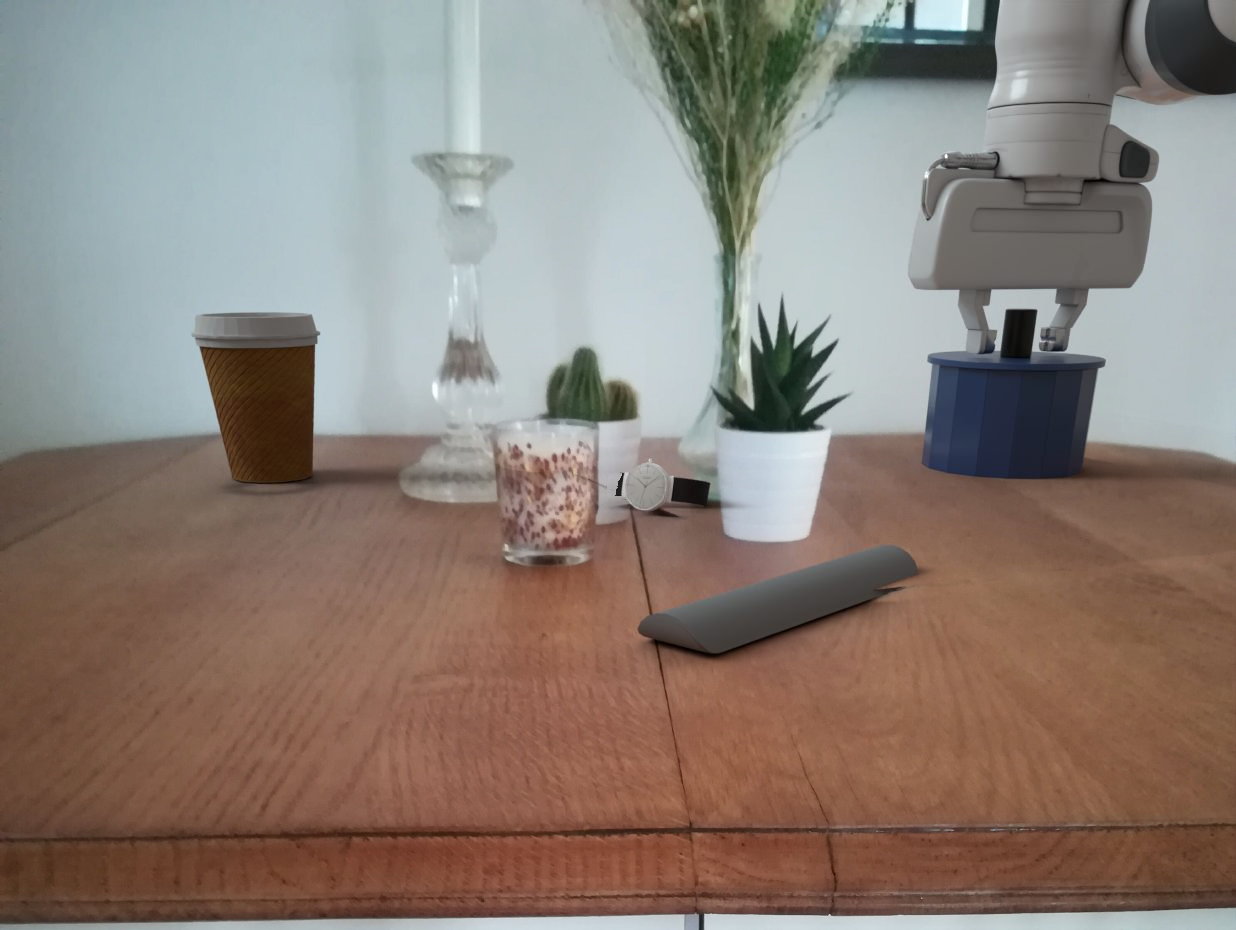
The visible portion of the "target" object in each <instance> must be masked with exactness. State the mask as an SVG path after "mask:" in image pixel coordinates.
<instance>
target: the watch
mask: <svg viewBox="0 0 1236 930" xmlns="http://www.w3.org/2000/svg"><path fill="white" fill-rule="evenodd" d="M621 473H622V476H621V478H620V480H619V481H618V486H617V487H618V488H617V489H616V495H615V496H622V498H627V500H626V501H628V503H629V504H630V505H631V506H632V507H633V508H634V509H636V510H638V511H639V512H640V511H641V512H647V513H648V512H654V511H656V510H658V509H660V507H662V506H663V505H664V504H665V503H668V504H671V502H675V503H684V504H693V505H698V506H704V507H707V505H708V501H709V495H710V494H709V493H710V489H711V482H710V481H706V480H700V479H694V478H685V477H675V476H674V475H669V474H668V473H667V471H666V470H665V469H664V468H663V467H662V466H661V465H659V464H657V463H654V458H648V462H647V461H646V462H644V463H640V464H637V465H635V466H634V467H633V468H631V470H630V471H628V472H627V471H624V472H621Z"/></svg>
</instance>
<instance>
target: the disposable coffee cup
mask: <svg viewBox="0 0 1236 930" xmlns="http://www.w3.org/2000/svg"><path fill="white" fill-rule="evenodd" d="M190 334H191V337H192V338H194V340H195V344H196V346H197V347H198V348H199V351H200V354H201V355H200V356H201V358H202V359H201V360H202V363H203V366H204V370H205V374H206V379H207V383H208V386H209V391H210V394H211V399H212V402H213V403H212V404H213V406H214V410H215V414H216V415H215V416H216V418H217V424H218V426H219V431H220V434H221V438H222V442H223V447H224V450H225V454H226V458H227V463H228V467H229V470H230V475H231V478H232V479H233V480H235V481H239V482H245V483H260V484H267V483H268V484H269V483H270V484H271V483H286V482H295V481H299V480H305V479H308V478H310V477H312V476H314V475H313V474H314V472H313V471H314V469H313V468H314V430H315V429H314V427H315V382H316V381H315V379H316V378H315V377H316V345H317V344H318V342H319V341H318V336H321V331H319V330H317V327H316V323H315V320H314V317H313V314H312V313H307V312H285V311H284V312H276V311H274V312H273V311H271V312H270V311H250V312H249V311H248V312H247V311H245V312H244V311H243V312H212V313H200V314H199V313H198V314H195V316H194V330H193V332H191V333H190Z"/></svg>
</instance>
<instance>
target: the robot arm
mask: <svg viewBox="0 0 1236 930" xmlns="http://www.w3.org/2000/svg"><path fill="white" fill-rule="evenodd" d="M998 5H999V6H998V12H997V19H996V20H997V21H996V27H995V29H996V30H995V39H994V49H995V55H996V75H995V81H994V85H993V88H992V91H991V94H990V97H989V99H988V102H987V107H986V115H985V125H984V133H983V134H984V135H983V142H982V143H983V144H982V150H981V151H978V152H977V151H975V152H961V151H957V150H952V151H945V152H943V153H942V154H941V155H940V157H939V158H936V159H935V160H934V161H932V162H931V163H930V165H929V166H928V168H927V169H926V170H925V171H924V173H923V177H922V181H921V190H920V205H919V209H918V212H917V217H916V220H915V226H914V230H913V234H912V239H911V246H910V252H909V256H908V258H909V259H908V264H907V277H908V278H909V280H910V282H911V284H912V286H913V288H914V289H916V290H923V291H958V301H957V308H958V310H959V312H960V316H961V318H962V320H963V323H964V326H965V329H967V332H966V342H965V351H966V352H967V353H968V354H991V353H993V352H994V351H996V344H995V342H996V340H997V336H998V335H997V334H998V329H991V328H990V327H989V324H988V323H989V322H988V320H987V316H986V312H985V309H984V307H989V306H990V304H991V296H992V291H994V290H1000V291H1001V290H1056V292H1055V299H1054V304H1056V305H1059V306H1058V308H1057V311H1056V312H1055V314H1054V316H1053V318H1052V320H1051V322H1050V324H1049V326H1045V327H1044V326H1043V327H1040V333H1039V337H1040V340H1039V341H1038V349H1039V351H1040V352H1053V353H1065V352H1066V351H1067V349H1068V347H1069V341H1070V335H1071V330H1072V328H1073V327H1074V325H1075V324H1076V322H1077V321H1078V319H1079V318H1080V316H1081V314H1082V313H1083V311H1084V309H1085V308H1086V306H1087V303H1088V297H1089V291H1090V290H1092V289H1093V290H1097V289H1098V290H1101V289H1102V290H1103V289H1104V290H1105V289H1106V290H1109V289H1111V290H1112V289H1113V290H1114V289H1130V288H1132V287H1133V286H1134V285H1135V283H1136V282H1137V281H1138V279H1139V278H1140V276H1141V275H1142V273H1143V271H1144V268H1145V267H1144V266H1145V264H1146V259H1147V254H1148V253H1147V252H1148V248H1149V247H1148V246H1149V242H1150V241H1149V240H1150V234H1151V226H1152V219H1153V199H1152V195H1151V191H1150V190H1149V189H1148V187H1146V185H1144V184H1145V183H1150V182H1153V181H1154V179H1155V178H1156V177H1157V173H1158V170H1159V164H1160V155H1159V152H1158V151H1157V150H1156V149H1154V148H1153V147H1151V146H1149V145H1148V144H1145V143H1144V142H1142V141H1140V140H1139V139H1137V138H1135V137H1133V136H1132V135H1129V133H1127V132H1125V131H1124V130H1122V129H1121V128H1120V127H1118V126H1117V125H1115V124H1111V117H1112V110H1113V105H1114V98H1115V97H1116V96H1117V97H1122V98H1126V99H1130V100H1135V101H1136V100H1137V101H1140V102H1142V103H1145V104H1149V105H1156V106H1171V105H1177V104H1182V103H1185V102H1191V101H1195V100H1199V99H1202V98H1205V97H1208V96H1226V95H1232V94H1236V0H999V4H998ZM938 166H941V167H942V168H941V167H938ZM937 167H938V168H937Z"/></svg>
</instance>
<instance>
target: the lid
mask: <svg viewBox="0 0 1236 930" xmlns="http://www.w3.org/2000/svg"><path fill="white" fill-rule="evenodd" d="M1037 317H1038V309H1036V308H1006V309H1005V312H1004V321H1003V327H1002V335H1001V344H1000V350H994V352H993V353H991V354H968V353H967V352H966V350H955V351H954V350H953V351H939V352H932V353H929V354H928V355H927V359H926V360H927V363H929V364H931V365H932V364H936V365H942V366H950V367H960V368H973V369H990V370H1017V371H1070V370H1089V369H1098V368H1099V369H1102V368H1104V367H1105V366H1106V363H1107V360H1106V359H1105V358H1104V357H1101V356H1096V355H1089V354H1079V353H1068V352H1046V351H1033V348H1034V347H1033V346H1034V340H1035V332H1036V325H1037V324H1036V323H1037ZM1099 369H1098V370H1099Z"/></svg>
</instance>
